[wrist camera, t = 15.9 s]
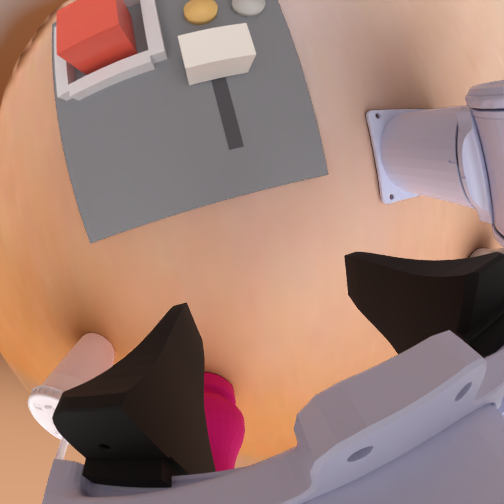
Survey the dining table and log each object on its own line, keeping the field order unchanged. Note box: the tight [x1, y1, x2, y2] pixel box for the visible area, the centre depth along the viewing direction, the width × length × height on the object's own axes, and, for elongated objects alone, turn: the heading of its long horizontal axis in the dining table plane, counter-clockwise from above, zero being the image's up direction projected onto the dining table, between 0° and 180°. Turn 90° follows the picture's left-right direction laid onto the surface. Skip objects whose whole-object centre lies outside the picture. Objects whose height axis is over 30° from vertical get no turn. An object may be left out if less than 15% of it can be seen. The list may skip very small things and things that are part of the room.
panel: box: [52, 0, 328, 243], centre depth 14 cm, size 18×20×3 cm
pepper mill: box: [204, 372, 245, 472], centre depth 15 cm, size 7×7×20 cm
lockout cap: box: [56, 0, 138, 75], centre depth 11 cm, size 4×4×5 cm
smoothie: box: [28, 333, 115, 460], centre depth 15 cm, size 6×6×14 cm
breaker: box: [178, 23, 256, 85], centre depth 13 cm, size 4×2×3 cm, turn 104°
